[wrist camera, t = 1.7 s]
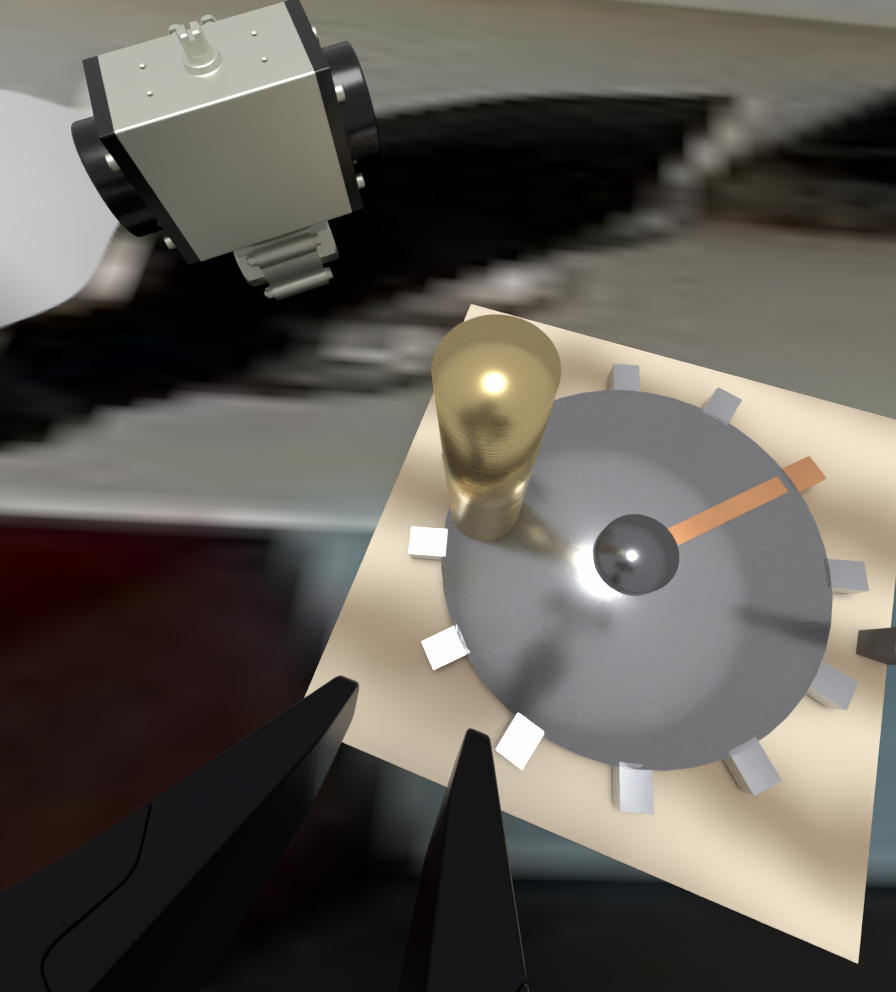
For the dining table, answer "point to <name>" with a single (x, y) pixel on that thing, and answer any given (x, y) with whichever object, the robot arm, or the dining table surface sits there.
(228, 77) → the pneumatic valve
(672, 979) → the dining table surface
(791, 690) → the sprocket
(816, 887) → the sprocket base
